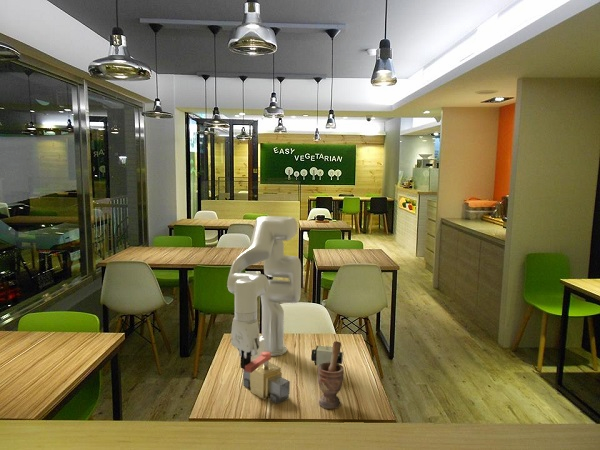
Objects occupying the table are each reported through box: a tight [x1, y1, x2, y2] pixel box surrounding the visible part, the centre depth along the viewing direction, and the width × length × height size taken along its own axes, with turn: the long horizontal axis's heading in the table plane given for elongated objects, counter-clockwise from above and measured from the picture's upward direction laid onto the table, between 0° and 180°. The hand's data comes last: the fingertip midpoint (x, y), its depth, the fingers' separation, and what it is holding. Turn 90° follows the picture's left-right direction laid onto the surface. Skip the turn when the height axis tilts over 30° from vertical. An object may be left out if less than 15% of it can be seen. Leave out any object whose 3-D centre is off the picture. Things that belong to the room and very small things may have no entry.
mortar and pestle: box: [317, 340, 345, 410], centre depth 155 cm, size 12×9×20 cm
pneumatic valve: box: [310, 345, 344, 367], centre depth 175 cm, size 6×12×12 cm, turn 78°
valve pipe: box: [242, 360, 291, 405], centre depth 161 cm, size 20×8×12 cm, turn 45°
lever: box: [245, 351, 272, 373], centre depth 156 cm, size 14×4×2 cm, turn 155°
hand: (245, 367), depth 154 cm, fingers closed
